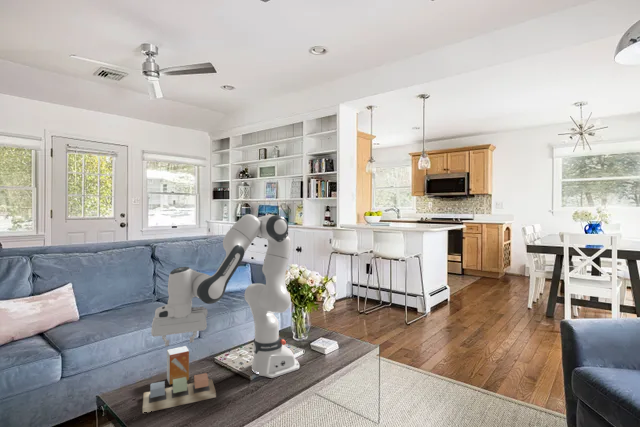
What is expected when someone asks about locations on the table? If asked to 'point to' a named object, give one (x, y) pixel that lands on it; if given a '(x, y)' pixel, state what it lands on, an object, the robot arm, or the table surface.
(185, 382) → the sage button
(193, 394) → the button board
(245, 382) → the table surface
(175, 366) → the small box
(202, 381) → the terracotta button
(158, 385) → the slate button
